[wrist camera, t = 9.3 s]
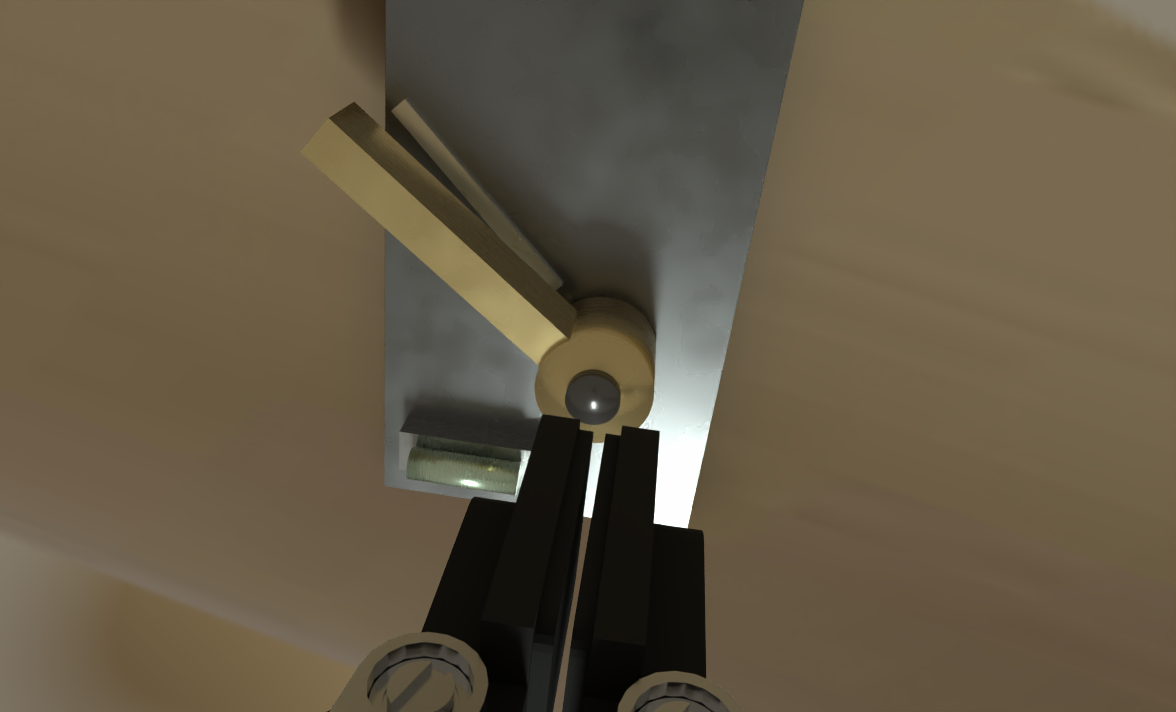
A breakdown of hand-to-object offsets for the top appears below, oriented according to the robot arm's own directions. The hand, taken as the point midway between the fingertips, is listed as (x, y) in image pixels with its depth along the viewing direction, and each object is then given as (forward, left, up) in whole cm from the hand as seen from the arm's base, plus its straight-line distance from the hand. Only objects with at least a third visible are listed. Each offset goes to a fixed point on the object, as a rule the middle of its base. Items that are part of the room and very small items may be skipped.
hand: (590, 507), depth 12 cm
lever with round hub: (+5, +5, -21) cm, 22 cm away
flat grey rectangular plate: (+2, +6, -23) cm, 24 cm away
